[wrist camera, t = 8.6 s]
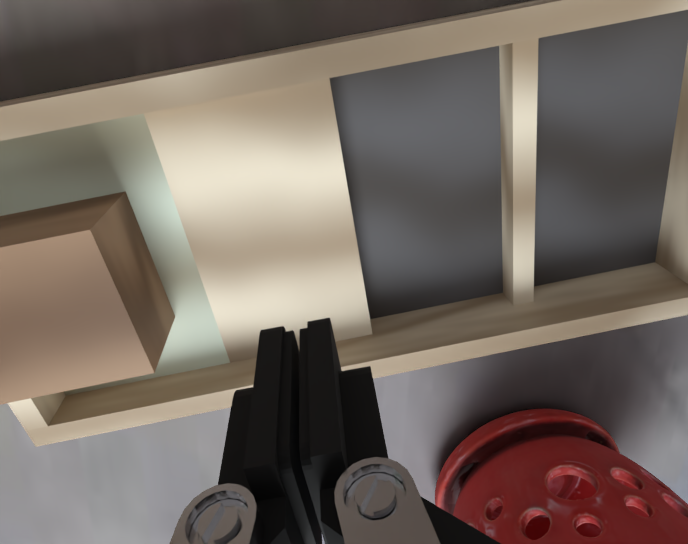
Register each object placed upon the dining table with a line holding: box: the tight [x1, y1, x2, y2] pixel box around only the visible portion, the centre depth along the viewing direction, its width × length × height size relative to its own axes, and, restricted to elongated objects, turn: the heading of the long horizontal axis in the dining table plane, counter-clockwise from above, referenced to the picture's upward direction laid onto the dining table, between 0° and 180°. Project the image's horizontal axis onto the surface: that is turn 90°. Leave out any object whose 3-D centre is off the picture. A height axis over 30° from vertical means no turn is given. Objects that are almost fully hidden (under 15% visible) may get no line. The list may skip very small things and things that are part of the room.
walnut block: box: [0, 191, 175, 404], centre depth 19 cm, size 6×6×4 cm
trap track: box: [0, 0, 688, 447], centre depth 21 cm, size 14×32×4 cm, turn 100°
